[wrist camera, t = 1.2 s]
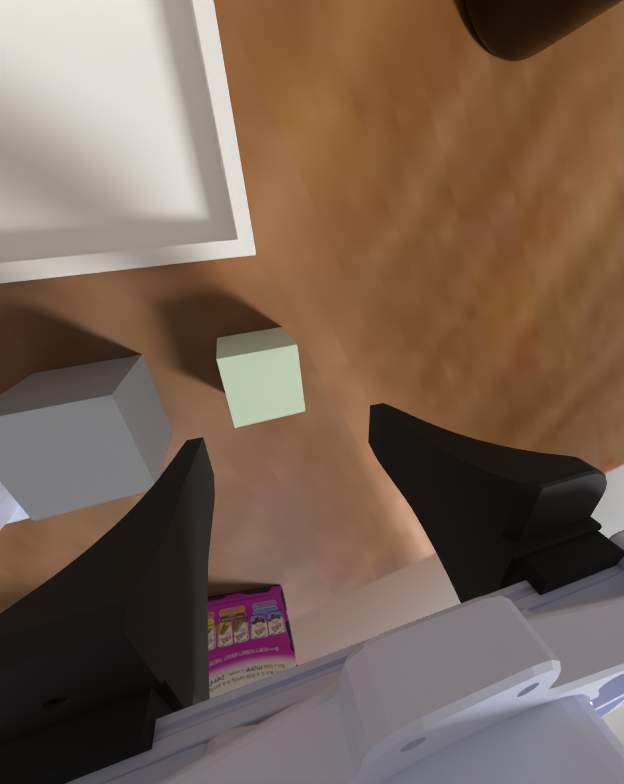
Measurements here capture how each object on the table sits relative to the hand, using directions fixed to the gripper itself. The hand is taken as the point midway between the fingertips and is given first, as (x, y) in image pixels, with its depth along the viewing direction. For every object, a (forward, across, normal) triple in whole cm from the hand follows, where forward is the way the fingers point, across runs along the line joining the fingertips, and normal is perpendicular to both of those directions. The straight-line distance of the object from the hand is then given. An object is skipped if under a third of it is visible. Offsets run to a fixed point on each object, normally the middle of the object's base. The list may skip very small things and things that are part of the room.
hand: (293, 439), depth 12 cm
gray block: (+10, +11, +2) cm, 14 cm away
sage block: (+10, +1, 0) cm, 10 cm away
